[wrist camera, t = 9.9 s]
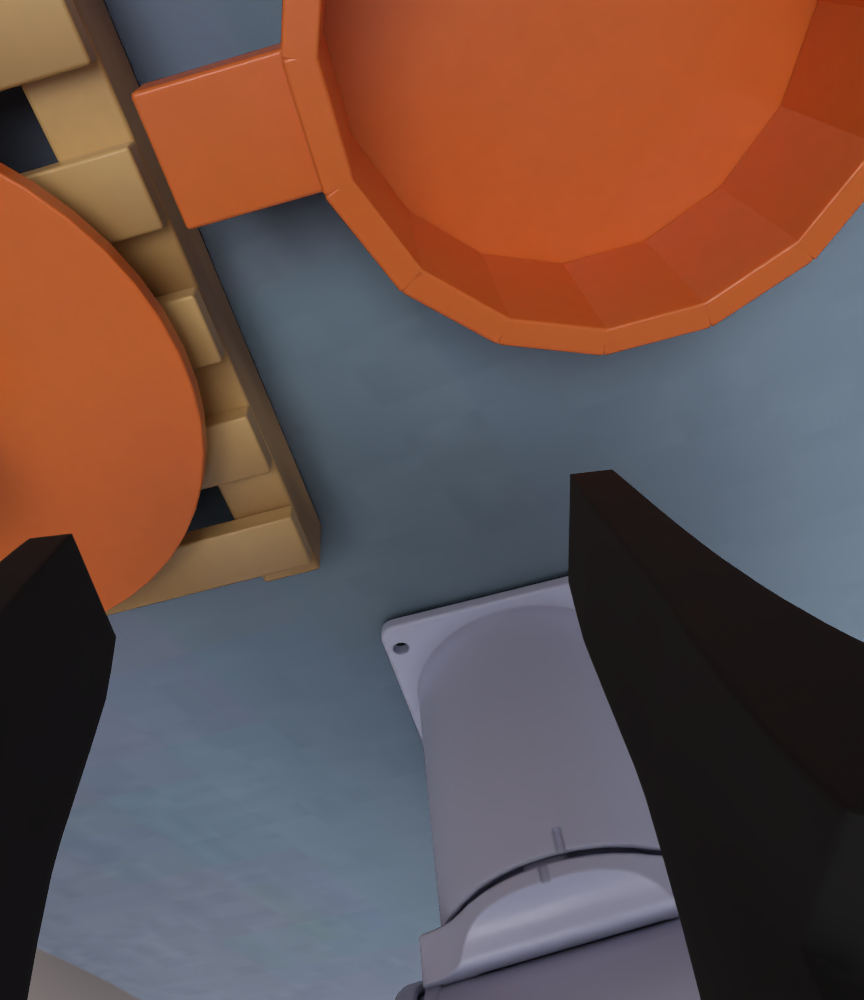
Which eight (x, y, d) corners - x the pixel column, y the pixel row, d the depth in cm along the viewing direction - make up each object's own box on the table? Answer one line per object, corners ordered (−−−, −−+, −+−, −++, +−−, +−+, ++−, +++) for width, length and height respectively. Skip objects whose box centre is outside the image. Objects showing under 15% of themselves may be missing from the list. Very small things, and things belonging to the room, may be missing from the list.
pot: (940, 177, 20) (1074, 232, 16) (281, 356, 21) (268, 445, 17) (1021, -524, 13) (1277, -695, 10) (59, -210, 14) (-37, -258, 11)
